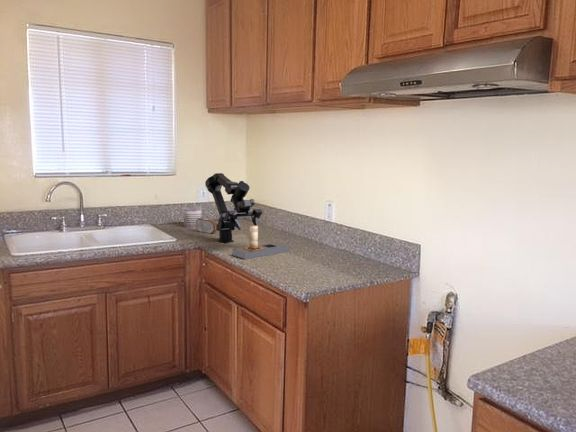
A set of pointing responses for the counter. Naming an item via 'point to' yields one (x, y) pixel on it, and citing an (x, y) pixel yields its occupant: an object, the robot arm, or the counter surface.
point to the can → (191, 216)
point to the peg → (253, 237)
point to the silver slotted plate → (261, 250)
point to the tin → (206, 225)
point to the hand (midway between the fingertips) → (248, 228)
